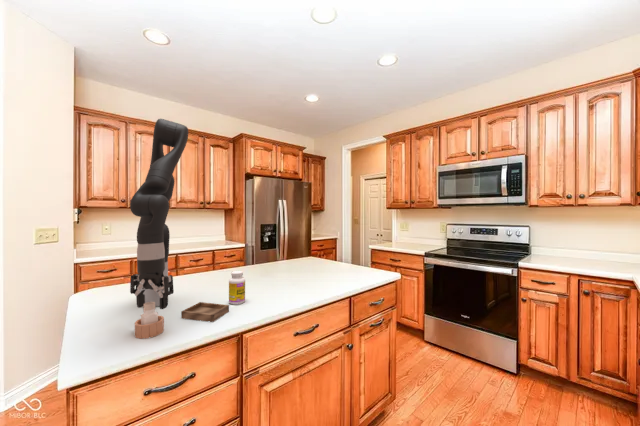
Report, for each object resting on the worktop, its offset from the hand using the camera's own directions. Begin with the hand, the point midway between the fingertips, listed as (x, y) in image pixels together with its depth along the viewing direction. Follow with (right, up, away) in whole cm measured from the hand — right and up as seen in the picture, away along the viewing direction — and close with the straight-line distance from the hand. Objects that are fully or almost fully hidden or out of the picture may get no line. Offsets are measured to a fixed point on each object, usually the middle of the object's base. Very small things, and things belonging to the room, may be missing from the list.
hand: (152, 307), depth 86 cm
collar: (-1, -8, 0) cm, 8 cm away
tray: (+11, -8, +15) cm, 20 cm away
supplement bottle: (+18, -8, +28) cm, 35 cm away
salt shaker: (-1, -8, 0) cm, 8 cm away
